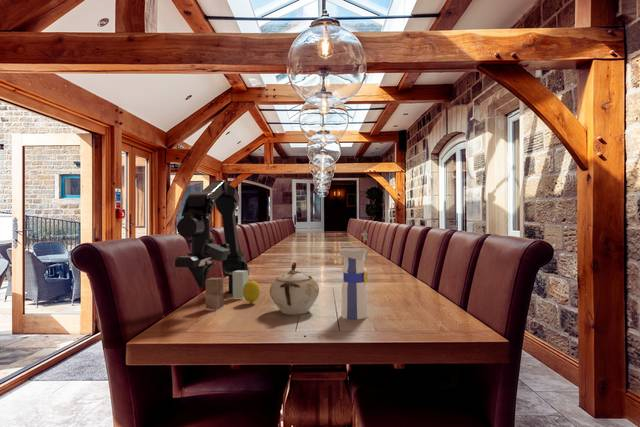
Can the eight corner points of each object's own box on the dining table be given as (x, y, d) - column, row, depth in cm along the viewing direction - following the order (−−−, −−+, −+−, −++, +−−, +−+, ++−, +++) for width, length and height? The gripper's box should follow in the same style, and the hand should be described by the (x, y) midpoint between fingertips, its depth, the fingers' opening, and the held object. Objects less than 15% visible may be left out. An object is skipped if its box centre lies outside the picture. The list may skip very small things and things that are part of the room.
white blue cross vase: (371, 313, 130) (370, 228, 129) (366, 320, 121) (365, 230, 121) (344, 311, 132) (343, 228, 132) (337, 318, 124) (336, 230, 123)
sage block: (238, 296, 158) (237, 270, 158) (248, 297, 157) (248, 270, 156) (232, 298, 154) (232, 271, 154) (243, 299, 153) (242, 272, 153)
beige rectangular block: (212, 307, 141) (212, 277, 141) (223, 307, 140) (223, 278, 140) (205, 309, 137) (205, 279, 137) (217, 310, 136) (216, 280, 136)
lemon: (261, 302, 148) (261, 278, 148) (257, 305, 142) (257, 281, 142) (245, 301, 148) (245, 278, 148) (241, 305, 143) (240, 280, 143)
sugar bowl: (313, 320, 122) (312, 266, 122) (261, 319, 125) (260, 266, 125) (323, 305, 142) (323, 258, 142) (279, 304, 144) (278, 258, 144)
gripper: (207, 237, 120) (208, 294, 120) (239, 233, 138) (240, 283, 138) (172, 237, 123) (173, 293, 123) (208, 233, 141) (209, 282, 141)
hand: (201, 287), depth 131 cm, fingers closed
